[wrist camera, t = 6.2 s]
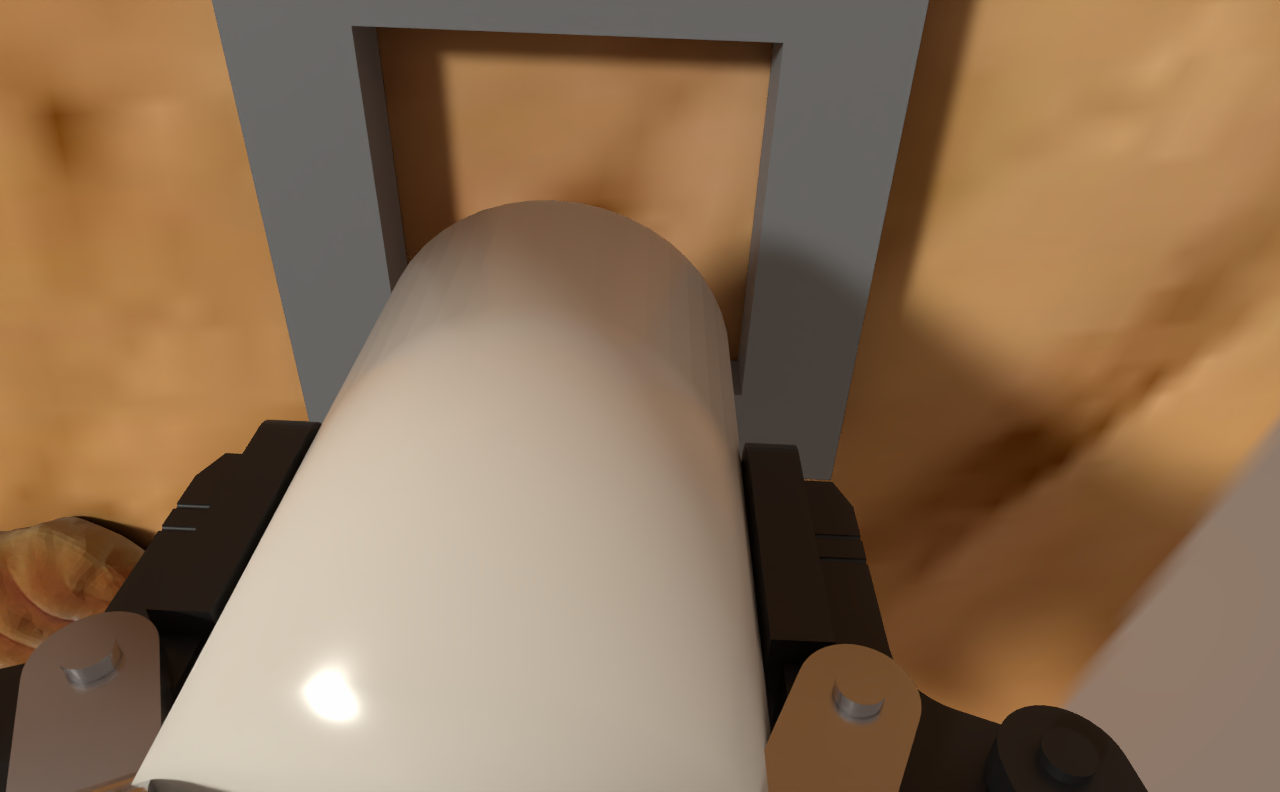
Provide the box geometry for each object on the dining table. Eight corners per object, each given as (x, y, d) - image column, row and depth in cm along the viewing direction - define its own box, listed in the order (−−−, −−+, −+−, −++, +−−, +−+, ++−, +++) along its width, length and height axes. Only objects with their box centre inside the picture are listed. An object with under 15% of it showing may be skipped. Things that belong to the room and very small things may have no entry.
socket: (822, 442, 24) (830, 480, 23) (336, 422, 24) (317, 458, 23) (929, -117, 16) (951, -107, 15) (216, -144, 16) (180, -137, 15)
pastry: (34, 452, 25) (-53, 551, 22) (236, 581, 28) (183, 684, 25) (-114, 592, 29) (-207, 694, 26) (78, 694, 32) (15, 796, 29)
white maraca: (361, 191, 14) (18, 663, 7) (747, 209, 14) (836, 700, 7) (432, 667, 20) (299, 1171, 13) (693, 679, 20) (708, 1189, 13)
